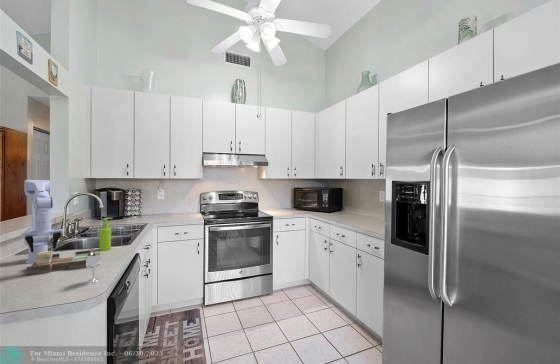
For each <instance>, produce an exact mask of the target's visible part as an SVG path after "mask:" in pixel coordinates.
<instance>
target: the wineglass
mask: <svg viewBox="0 0 560 364" xmlns="http://www.w3.org/2000/svg"><path fill="white" fill-rule="evenodd" d="M102 262H103V261H102V255H101V253H100V252H94V253H91V254H88V255H87V258H86V267H87V269H90V270H92V278H91V279H88V280H87V281H86V282H87V283H88V284H93V283H96V282H98V281H100V278H95V272H96V270H95V269H96V268H99V267H100V266H101V264H102Z"/></svg>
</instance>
